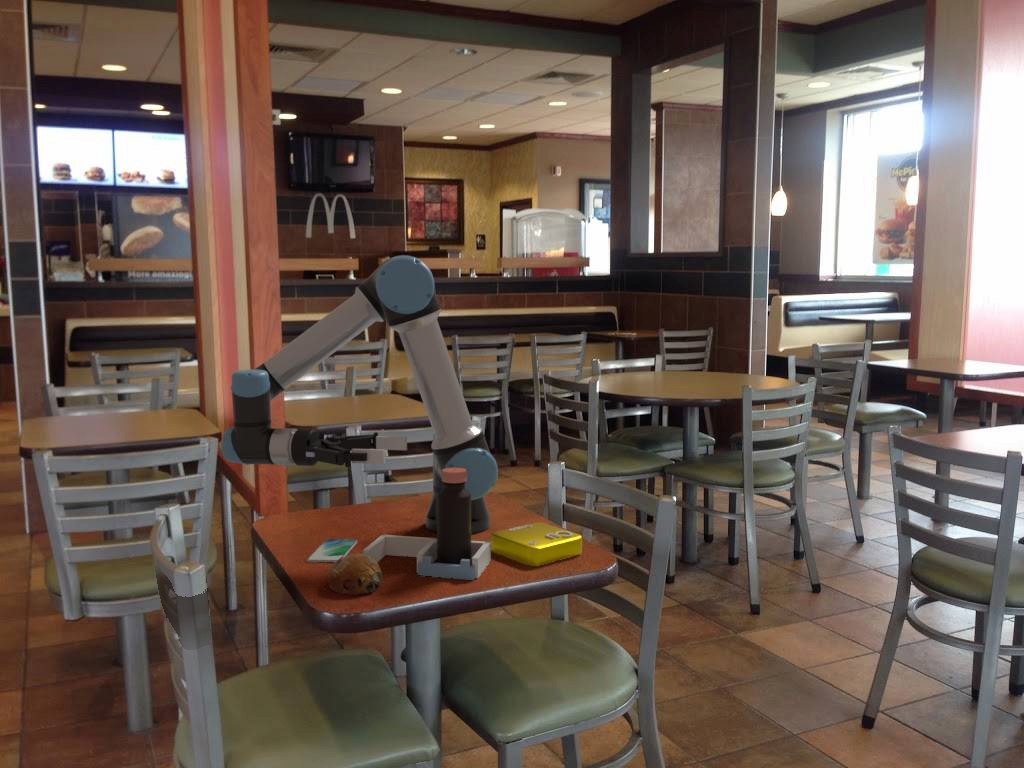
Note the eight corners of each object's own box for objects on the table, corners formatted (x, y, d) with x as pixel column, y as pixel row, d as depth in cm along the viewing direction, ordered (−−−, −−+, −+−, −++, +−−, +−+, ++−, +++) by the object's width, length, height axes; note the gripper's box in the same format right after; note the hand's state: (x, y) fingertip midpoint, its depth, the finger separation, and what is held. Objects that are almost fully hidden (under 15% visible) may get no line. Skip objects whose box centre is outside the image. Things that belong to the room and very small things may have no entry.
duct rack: (382, 552, 189) (382, 534, 189) (490, 560, 184) (490, 541, 184) (360, 571, 177) (360, 551, 176) (476, 580, 172) (476, 560, 172)
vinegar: (444, 561, 184) (444, 465, 182) (475, 564, 182) (475, 467, 180) (432, 571, 178) (432, 472, 175) (464, 574, 176) (464, 474, 173)
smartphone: (305, 560, 183) (326, 538, 197) (305, 564, 183) (326, 542, 198) (340, 560, 182) (358, 539, 197) (340, 564, 182) (358, 543, 197)
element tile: (539, 539, 201) (539, 519, 201) (586, 555, 190) (586, 533, 189) (487, 552, 192) (487, 530, 191) (533, 570, 180) (533, 546, 180)
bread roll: (375, 595, 174) (369, 554, 176) (392, 588, 165) (385, 545, 168) (326, 604, 169) (320, 562, 172) (340, 597, 161) (334, 553, 163)
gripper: (322, 453, 196) (415, 455, 191) (269, 478, 171) (374, 482, 167) (321, 419, 195) (414, 421, 190) (268, 440, 170) (373, 443, 166)
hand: (396, 449), depth 179 cm, fingers open, 13 cm apart
